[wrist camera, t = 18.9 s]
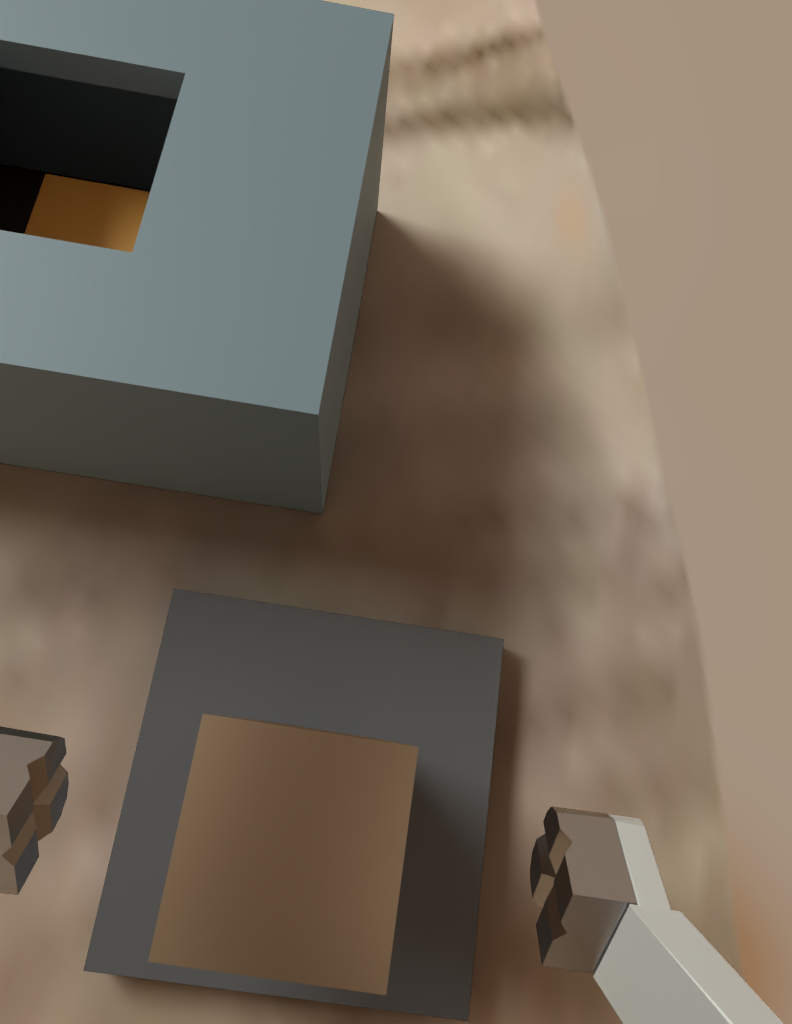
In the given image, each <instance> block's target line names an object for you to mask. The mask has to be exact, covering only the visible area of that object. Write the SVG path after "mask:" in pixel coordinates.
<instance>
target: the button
mask: <svg viewBox="0 0 792 1024" xmlns="http://www.w3.org/2000/svg"><path fill="white" fill-rule="evenodd" d="M149 194H150V192H148V191H142V190H136V189H131V188H125V187H119V186H113V185H108V184H102V183H96V182H90V181H85V180H79V179H73V178H67V177H62V176H56V175H50V174H45V177H44V180H43V183H42V185H41V188H40V191H39V194H38V197H37V200H36V202H35V205H34V208H33V211H32V214H31V216H30V219H29V222H28V225H27V228H26V231H25V233H24V234H27V235H33V236H38V237H44V238H50V239H56V240H62V241H68V242H74V243H79V244H85V245H91V246H97V247H103V248H109V249H115V250H120V251H126V252H132V251H133V248H134V245H135V241H136V238H137V235H138V231H139V228H140V224H141V221H142V218H143V214H144V211H145V208H146V204H147V201H148V197H149Z"/></svg>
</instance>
